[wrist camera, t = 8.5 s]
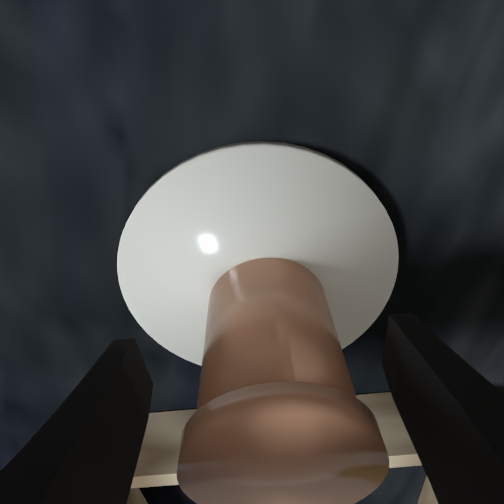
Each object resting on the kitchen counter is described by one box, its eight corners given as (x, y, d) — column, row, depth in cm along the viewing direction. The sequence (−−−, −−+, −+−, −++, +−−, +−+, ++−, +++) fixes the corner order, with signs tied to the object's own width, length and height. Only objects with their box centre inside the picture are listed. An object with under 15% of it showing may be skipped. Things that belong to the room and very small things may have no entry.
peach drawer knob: (214, 357, 15) (201, 527, 10) (187, 260, 12) (149, 429, 7) (333, 343, 15) (381, 511, 10) (332, 242, 12) (399, 404, 7)
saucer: (160, 372, 16) (157, 383, 16) (79, 160, 11) (71, 166, 10) (379, 352, 16) (384, 363, 15) (410, 122, 10) (418, 127, 10)
